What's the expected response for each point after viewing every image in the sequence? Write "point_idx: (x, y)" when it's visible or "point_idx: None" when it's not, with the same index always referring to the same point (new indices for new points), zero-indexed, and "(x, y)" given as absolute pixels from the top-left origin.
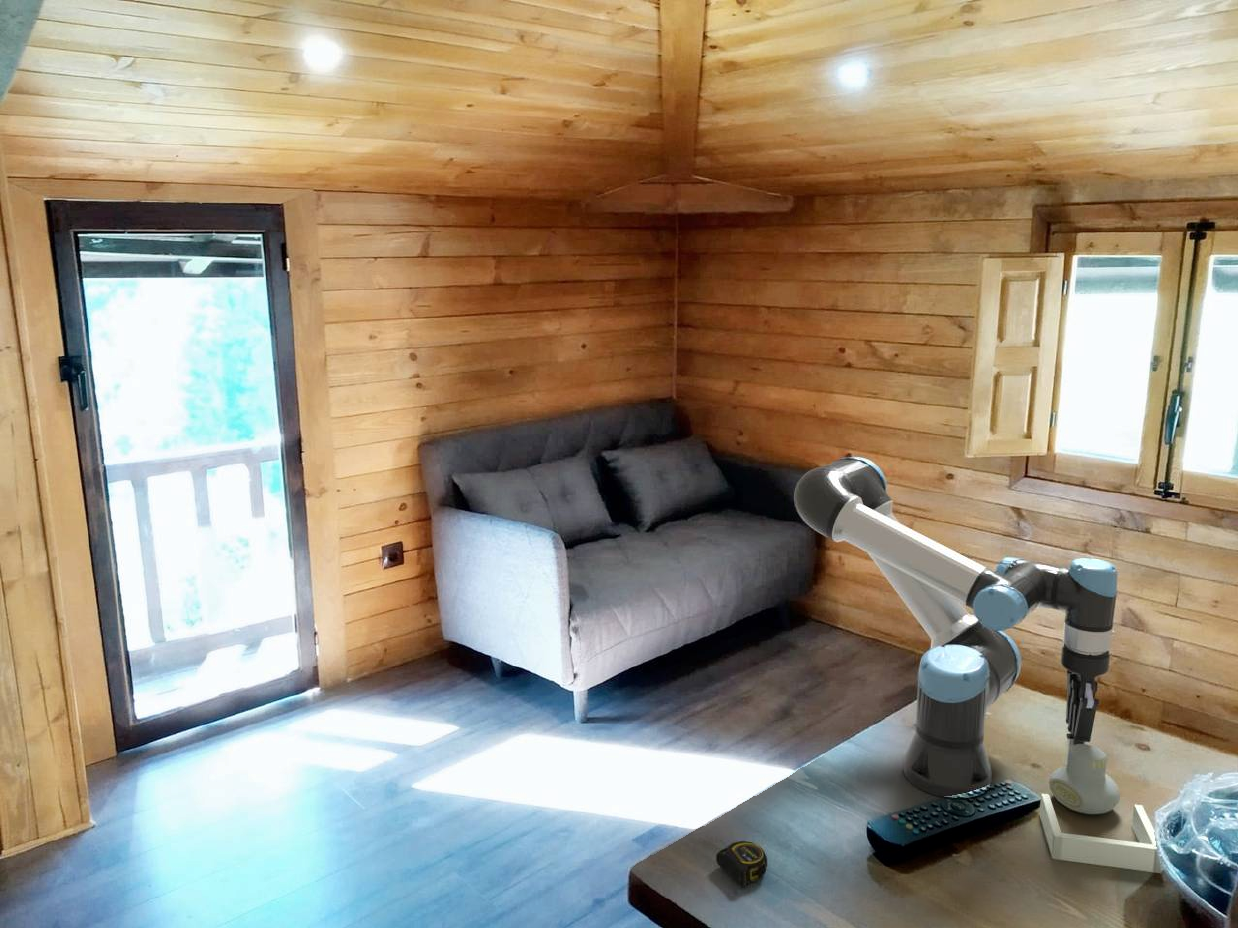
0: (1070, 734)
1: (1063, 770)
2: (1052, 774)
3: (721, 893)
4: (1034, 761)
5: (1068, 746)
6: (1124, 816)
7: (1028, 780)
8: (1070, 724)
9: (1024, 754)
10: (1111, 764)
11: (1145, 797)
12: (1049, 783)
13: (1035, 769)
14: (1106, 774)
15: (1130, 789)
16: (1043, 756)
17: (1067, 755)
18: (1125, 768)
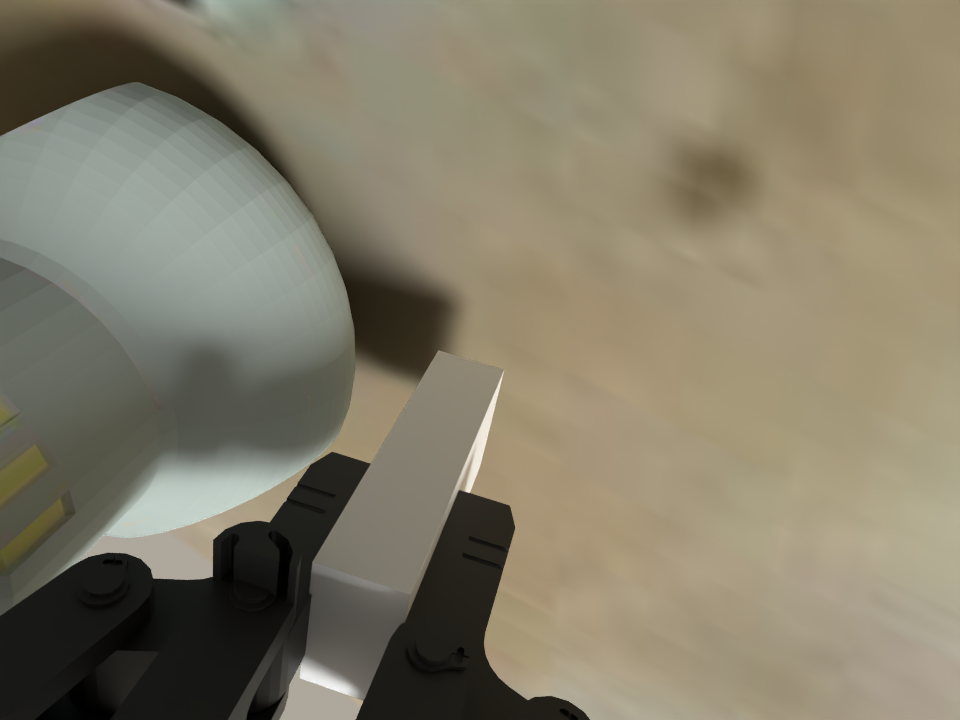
0: (291, 592)
1: (49, 239)
2: (137, 145)
3: None
4: (778, 207)
5: (385, 483)
6: None
7: (465, 10)
8: (360, 712)
9: (925, 170)
10: (658, 657)
11: None
12: (123, 85)
13: (643, 156)
14: (122, 531)
15: None
16: (847, 320)
17: (418, 423)
18: (607, 691)
